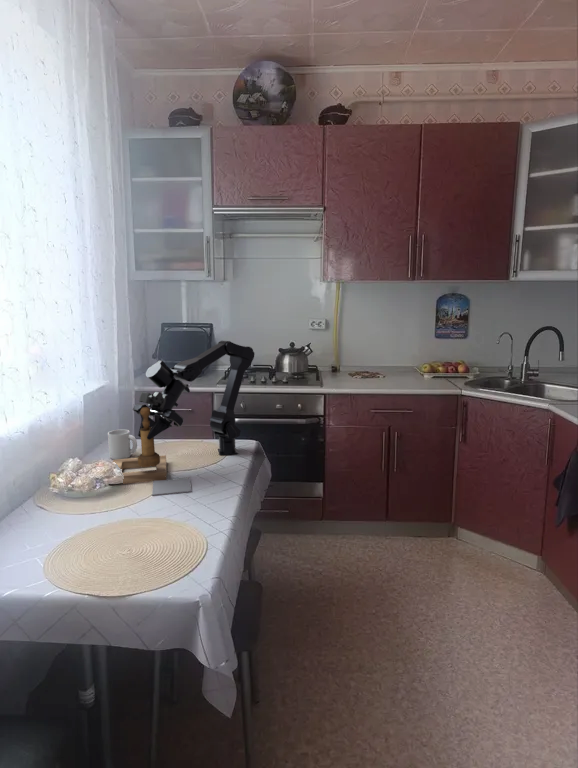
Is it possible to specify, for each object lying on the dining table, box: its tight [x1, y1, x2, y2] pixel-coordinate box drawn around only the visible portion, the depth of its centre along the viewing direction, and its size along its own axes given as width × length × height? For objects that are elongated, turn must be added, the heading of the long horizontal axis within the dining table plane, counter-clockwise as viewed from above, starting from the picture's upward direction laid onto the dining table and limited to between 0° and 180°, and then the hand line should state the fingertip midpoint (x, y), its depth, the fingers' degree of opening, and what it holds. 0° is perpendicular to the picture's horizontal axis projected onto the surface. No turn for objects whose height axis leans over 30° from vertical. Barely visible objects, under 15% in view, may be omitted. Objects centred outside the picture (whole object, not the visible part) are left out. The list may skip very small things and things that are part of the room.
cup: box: [107, 429, 138, 460], centre depth 183 cm, size 7×10×9 cm
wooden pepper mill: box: [137, 406, 161, 468], centre depth 160 cm, size 7×6×18 cm
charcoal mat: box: [151, 477, 192, 497], centre depth 155 cm, size 11×11×1 cm
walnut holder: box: [112, 454, 168, 485], centre depth 167 cm, size 17×17×2 cm
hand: (143, 437), depth 159 cm, fingers closed on wooden pepper mill, 4 cm apart
